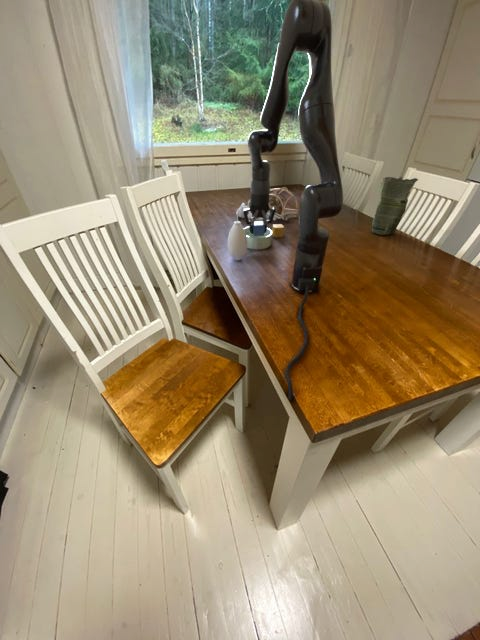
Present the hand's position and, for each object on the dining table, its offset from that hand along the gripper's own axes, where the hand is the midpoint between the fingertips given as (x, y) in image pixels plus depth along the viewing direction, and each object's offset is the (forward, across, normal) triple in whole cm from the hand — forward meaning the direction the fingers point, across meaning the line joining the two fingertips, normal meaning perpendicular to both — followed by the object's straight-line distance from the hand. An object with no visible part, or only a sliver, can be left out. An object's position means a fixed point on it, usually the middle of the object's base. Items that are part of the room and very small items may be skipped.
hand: (258, 232), depth 119 cm
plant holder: (+6, +13, +37) cm, 39 cm away
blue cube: (0, 0, 0) cm, 0 cm away
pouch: (+6, +65, +8) cm, 66 cm away
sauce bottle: (+6, -11, -12) cm, 17 cm away
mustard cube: (+6, +12, +11) cm, 17 cm away
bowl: (+6, 0, +3) cm, 7 cm away
